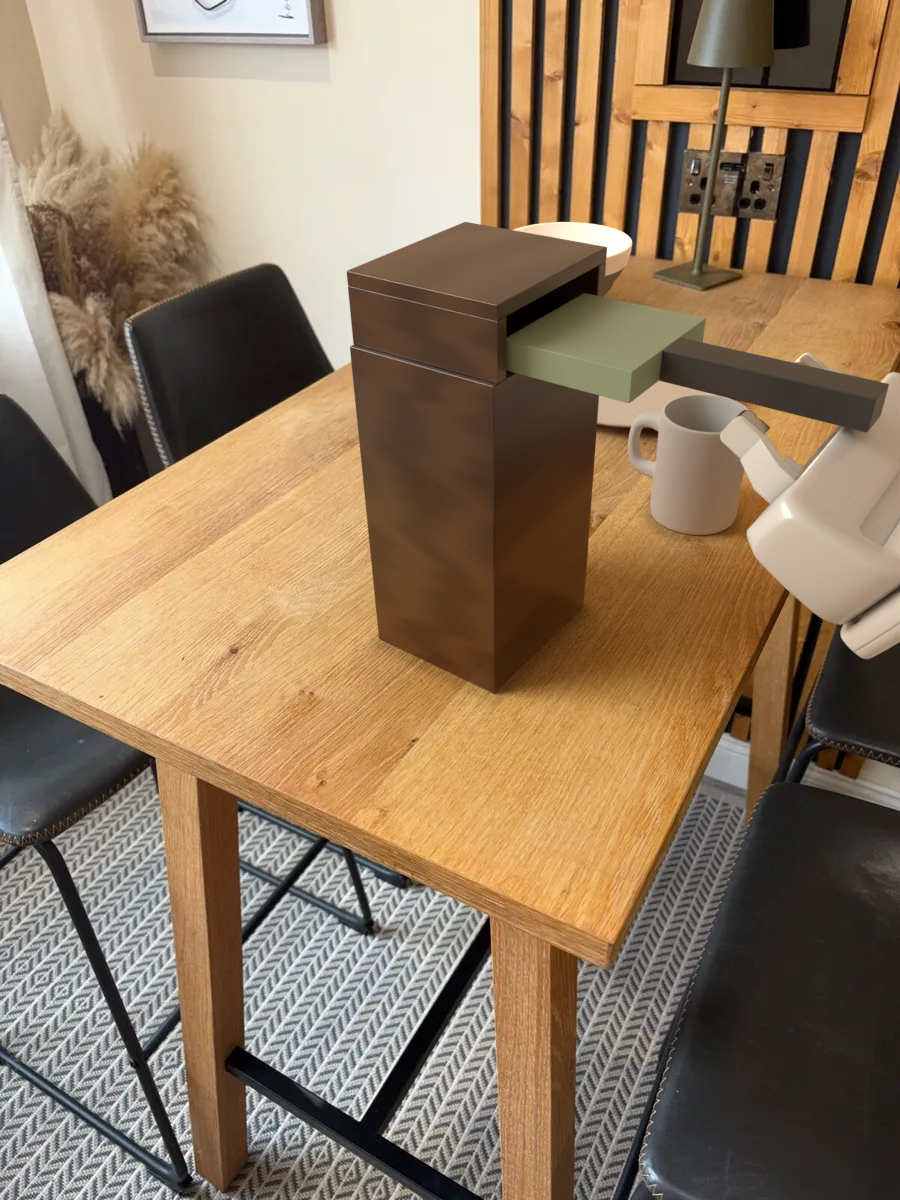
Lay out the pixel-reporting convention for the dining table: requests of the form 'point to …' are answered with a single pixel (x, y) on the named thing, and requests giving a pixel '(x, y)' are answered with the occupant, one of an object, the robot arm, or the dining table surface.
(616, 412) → the plate
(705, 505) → the mug
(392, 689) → the dining table surface
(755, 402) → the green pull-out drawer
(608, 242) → the bowl
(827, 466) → the robot arm
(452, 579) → the stand
